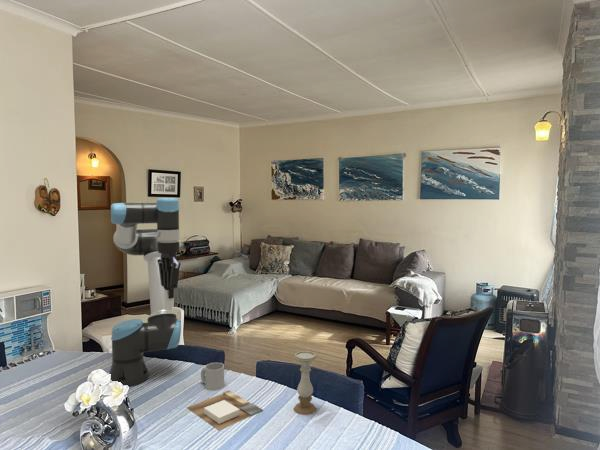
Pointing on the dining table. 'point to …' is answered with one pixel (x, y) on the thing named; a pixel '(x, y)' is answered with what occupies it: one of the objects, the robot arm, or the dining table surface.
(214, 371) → the cup
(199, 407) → the board
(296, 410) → the candle holder
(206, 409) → the tile
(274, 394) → the dining table surface
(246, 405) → the turner
